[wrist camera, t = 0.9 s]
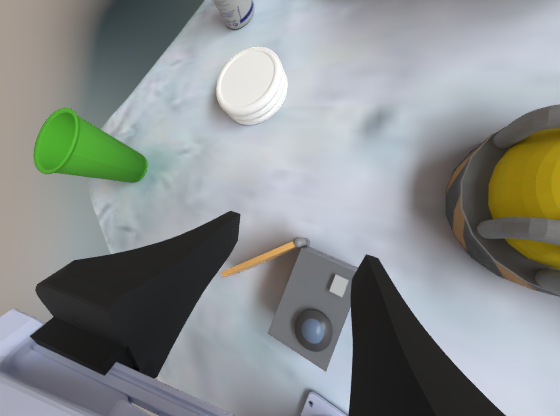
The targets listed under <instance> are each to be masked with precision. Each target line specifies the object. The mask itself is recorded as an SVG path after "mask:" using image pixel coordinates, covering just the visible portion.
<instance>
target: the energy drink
mask: <svg viewBox="0 0 560 416" xmlns="http://www.w3.org/2000/svg"><path fill="white" fill-rule="evenodd" d="M213 2H214V4H215V5H216V7H217V9H218V11H219V12H220V14H221V16H222V17H223V19H224V21H225V23H226V24H227V26H228V27H230V28H232V29H239V28H242V27H243V26H245V25H246V24H247V23H248V22H249V21H250V20H251V18H252V16H253V13H254V3H253V1H252V0H213Z"/></svg>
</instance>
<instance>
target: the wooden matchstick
mask: <svg viewBox="0 0 560 416" xmlns="http://www.w3.org/2000/svg"><path fill="white" fill-rule="evenodd" d="M307 245H308V240H307V239H302V238H295V239H294V240H293V241H292V242H290V243H287V244H285V245H283V246H280V247H278V248H276V249H273V250H271V251H269V252H267V253H264V254H262V255H260V256H257V257H255V258H253V259H250V260H248V261H246V262H243V263H241V264H239V265H236V266H234V267H232V268H229V269H227V270H225V271H222V275H223V277H226V276H230V275H234V274H238V273H240V272H243V271H245V270H247V269H250V268H252V267H255V266H257V265H259V264H262V263H264V262H267V261H269V260H271V259H274V258H276V257H278V256H281V255H283V254H286V253H288V252H290V251H293V250H295V249H298V248H300V247H306V246H307Z"/></svg>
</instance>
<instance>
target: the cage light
mask: <svg viewBox="0 0 560 416" xmlns="http://www.w3.org/2000/svg"><path fill="white" fill-rule="evenodd" d="M446 215H447V218H448V221H449V223H450V226H451V228H452V231H453V234H454V236H455V237H456V239H457V240H458V241H459V242H460V243H461V245H462V246H463V247H464V248H465V249H466V251H467V252H468V253H469V254H470V256H471V257H472V258H473V259H475V260H476V261H478V262H479V263H481V264H482V265H483V266H485V267H486V268H488V269H489V270H491V271H492V272H493V273H495V274H496V275H498V276H500V277H502V278H505V279H507V280H510V281H512V282H515V283H518V284H520V285H523V286H525V287H528V288H531V289H533V290H537V291H541V292H545V293H548V294H552V295H556V296H560V105H554V106H549V107H545V108H541V109H537V110H534V111H532V112H529V113H527V114H525V115H523V116H521V117H520V118H518V119H516V120H514V121H513V122H512V123H511V124H509V125H508V126H507V127H505V128H503V129H502V130H500V131H498V132H496V133H495V134H493V135H492V136H490V137H489V138H488V139H487V140H485V141H484V142H483V143H482V144H480V145H479V146H478V147H477V148H475V149H474V150H473V151H472V152H471V153H470V154H469V155H468V156H467V157H466V158H465V159H464V160H463V161H462V162H461V163H460V164H459V165H458V167H457V168H456V169H455V170H454V172H453V175H452V177H451V179H450V182H449V184H448V187H447V189H446Z"/></svg>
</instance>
